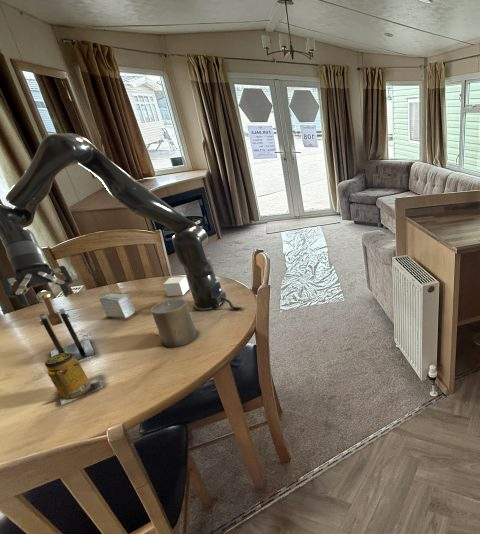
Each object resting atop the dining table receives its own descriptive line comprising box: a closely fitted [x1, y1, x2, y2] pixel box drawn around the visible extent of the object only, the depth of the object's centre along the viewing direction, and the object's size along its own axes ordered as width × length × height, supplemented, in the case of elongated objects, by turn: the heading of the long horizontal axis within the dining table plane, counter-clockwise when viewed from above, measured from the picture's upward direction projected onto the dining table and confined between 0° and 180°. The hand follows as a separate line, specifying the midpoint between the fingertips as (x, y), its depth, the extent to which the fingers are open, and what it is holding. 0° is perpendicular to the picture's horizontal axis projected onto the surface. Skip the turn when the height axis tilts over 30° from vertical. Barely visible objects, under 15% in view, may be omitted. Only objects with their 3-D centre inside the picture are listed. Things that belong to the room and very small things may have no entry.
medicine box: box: [99, 293, 137, 319], centre depth 128 cm, size 8×4×9 cm, turn 84°
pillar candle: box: [150, 298, 198, 348], centre depth 115 cm, size 10×10×15 cm
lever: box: [35, 290, 63, 327], centre depth 105 cm, size 14×4×4 cm, turn 51°
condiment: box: [44, 353, 104, 406], centre depth 93 cm, size 7×8×12 cm
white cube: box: [162, 276, 190, 297], centre depth 147 cm, size 6×6×6 cm
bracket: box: [39, 308, 96, 361], centre depth 106 cm, size 12×9×16 cm
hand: (47, 300), depth 107 cm, fingers open, 8 cm apart
